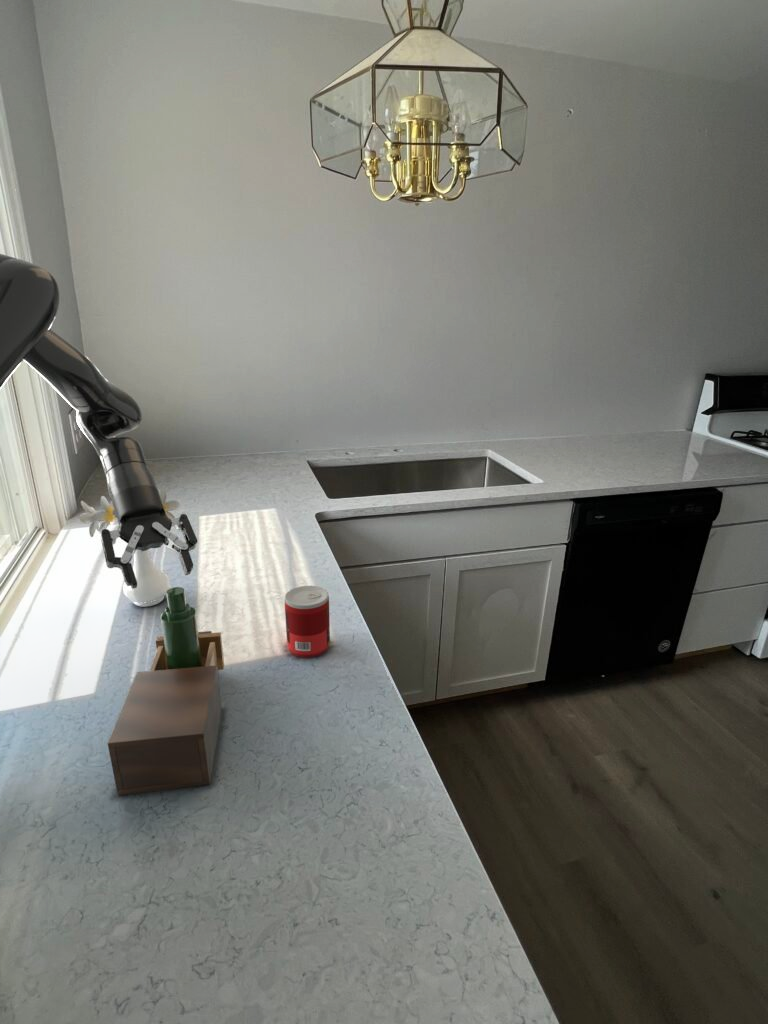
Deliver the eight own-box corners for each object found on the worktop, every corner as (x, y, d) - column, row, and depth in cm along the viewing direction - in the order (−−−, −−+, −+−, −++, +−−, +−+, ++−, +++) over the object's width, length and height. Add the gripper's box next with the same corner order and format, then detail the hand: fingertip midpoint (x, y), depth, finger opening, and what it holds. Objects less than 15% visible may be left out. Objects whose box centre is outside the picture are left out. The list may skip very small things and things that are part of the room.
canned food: (337, 649, 104) (336, 597, 100) (298, 664, 99) (296, 610, 95) (318, 631, 110) (316, 581, 106) (280, 643, 105) (277, 592, 101)
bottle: (167, 694, 88) (153, 600, 82) (173, 674, 93) (161, 584, 87) (201, 691, 89) (190, 598, 83) (206, 671, 94) (195, 581, 88)
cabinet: (144, 718, 86) (136, 671, 83) (221, 710, 88) (216, 665, 85) (117, 795, 72) (107, 743, 69) (209, 784, 74) (203, 733, 71)
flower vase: (101, 594, 122) (80, 485, 113) (189, 581, 128) (176, 477, 119) (94, 624, 111) (71, 506, 102) (192, 608, 117) (178, 496, 108)
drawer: (166, 656, 99) (162, 624, 97) (226, 652, 101) (223, 619, 99) (143, 726, 83) (136, 688, 81) (215, 718, 85) (210, 681, 82)
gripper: (89, 491, 89) (116, 583, 84) (179, 477, 97) (209, 560, 92) (89, 513, 95) (114, 599, 90) (174, 497, 102) (201, 577, 98)
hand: (162, 579), depth 91 cm, fingers open, 8 cm apart
